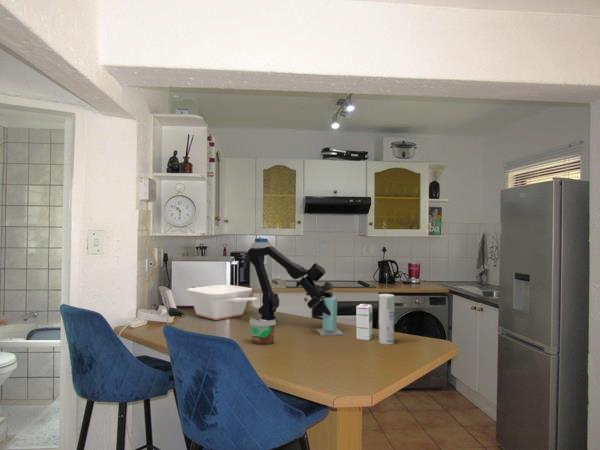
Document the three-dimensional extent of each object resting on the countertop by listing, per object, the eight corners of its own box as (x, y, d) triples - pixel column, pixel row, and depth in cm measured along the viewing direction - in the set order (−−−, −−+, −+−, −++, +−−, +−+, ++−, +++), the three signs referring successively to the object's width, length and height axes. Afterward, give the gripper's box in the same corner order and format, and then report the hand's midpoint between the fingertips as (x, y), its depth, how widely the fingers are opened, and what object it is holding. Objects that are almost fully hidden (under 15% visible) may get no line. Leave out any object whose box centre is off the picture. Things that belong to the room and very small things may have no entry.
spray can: (390, 345, 170) (390, 296, 171) (375, 342, 174) (376, 295, 175) (396, 342, 176) (396, 294, 176) (382, 339, 180) (382, 293, 180)
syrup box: (369, 340, 178) (369, 306, 178) (356, 338, 180) (356, 305, 181) (372, 337, 183) (372, 304, 183) (359, 335, 186) (359, 303, 186)
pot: (225, 309, 246) (225, 284, 246) (276, 320, 216) (277, 292, 216) (182, 316, 225) (182, 288, 225) (232, 330, 195) (233, 298, 195)
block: (322, 329, 189) (323, 298, 189) (326, 327, 194) (327, 297, 194) (332, 330, 187) (333, 299, 187) (336, 328, 192) (337, 298, 192)
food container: (243, 343, 172) (243, 319, 173) (251, 339, 178) (251, 316, 178) (268, 347, 167) (268, 322, 167) (276, 343, 172) (276, 319, 172)
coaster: (321, 336, 185) (321, 334, 185) (316, 330, 195) (316, 329, 195) (343, 335, 186) (343, 333, 186) (337, 330, 196) (337, 328, 196)
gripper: (314, 278, 184) (337, 305, 179) (329, 274, 201) (351, 299, 196) (297, 294, 187) (320, 322, 183) (314, 289, 204) (335, 314, 199)
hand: (332, 313), depth 190 cm, fingers closed on block, 5 cm apart
